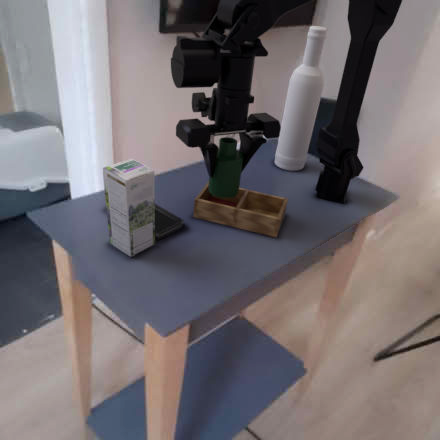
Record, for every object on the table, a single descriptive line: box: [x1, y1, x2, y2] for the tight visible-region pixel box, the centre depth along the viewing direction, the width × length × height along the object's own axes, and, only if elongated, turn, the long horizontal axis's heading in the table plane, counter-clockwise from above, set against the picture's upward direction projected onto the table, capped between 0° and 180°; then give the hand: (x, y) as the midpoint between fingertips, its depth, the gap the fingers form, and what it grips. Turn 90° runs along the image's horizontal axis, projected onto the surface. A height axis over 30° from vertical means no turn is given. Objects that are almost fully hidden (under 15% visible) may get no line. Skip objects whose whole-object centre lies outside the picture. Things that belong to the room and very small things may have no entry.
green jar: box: [208, 136, 243, 198], centre depth 75 cm, size 6×6×10 cm
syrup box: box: [102, 158, 156, 258], centre depth 65 cm, size 6×6×14 cm
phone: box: [155, 203, 184, 241], centre depth 76 cm, size 8×1×15 cm
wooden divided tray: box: [193, 180, 289, 238], centre depth 79 cm, size 17×9×4 cm, turn 73°
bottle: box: [274, 25, 328, 172], centre depth 92 cm, size 8×8×30 cm
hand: (225, 174), depth 76 cm, fingers closed on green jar, 6 cm apart
